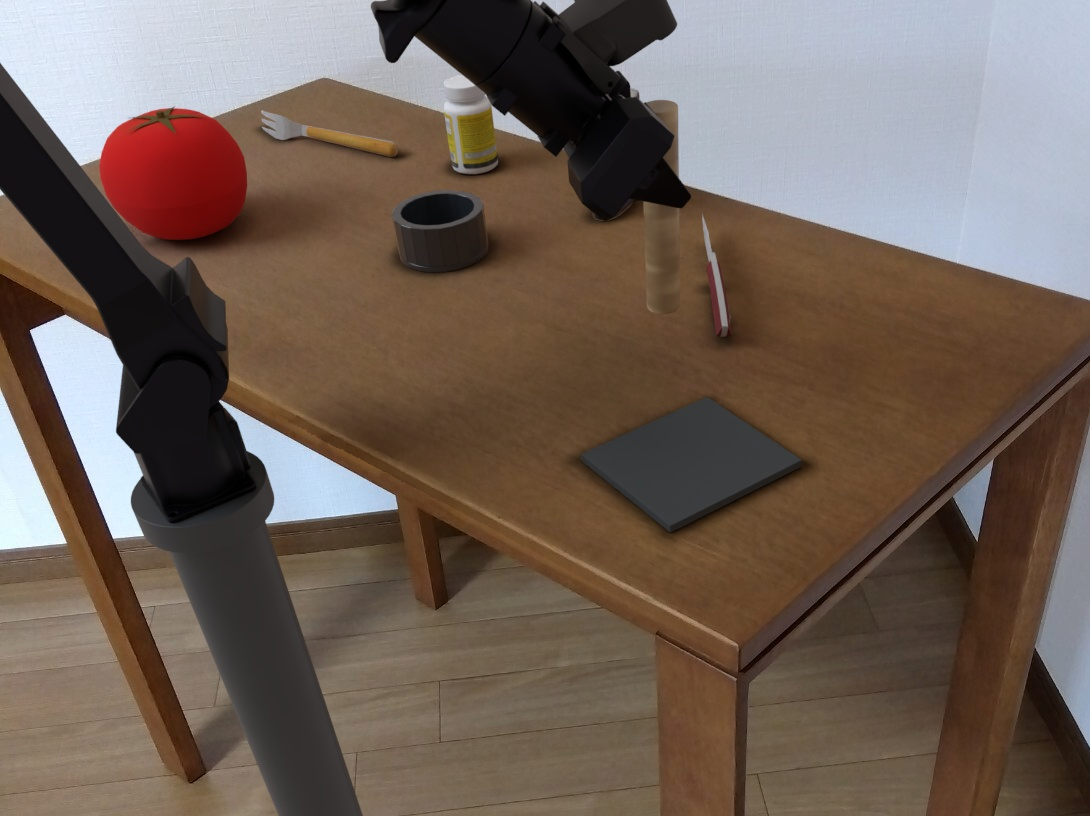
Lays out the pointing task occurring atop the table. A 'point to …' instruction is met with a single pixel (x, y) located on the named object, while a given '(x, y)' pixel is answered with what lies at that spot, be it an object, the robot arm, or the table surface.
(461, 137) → the supplement bottle
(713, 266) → the knife
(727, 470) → the mat
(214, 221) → the tomato
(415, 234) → the cup
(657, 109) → the muddler
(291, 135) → the fork
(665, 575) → the table surface
